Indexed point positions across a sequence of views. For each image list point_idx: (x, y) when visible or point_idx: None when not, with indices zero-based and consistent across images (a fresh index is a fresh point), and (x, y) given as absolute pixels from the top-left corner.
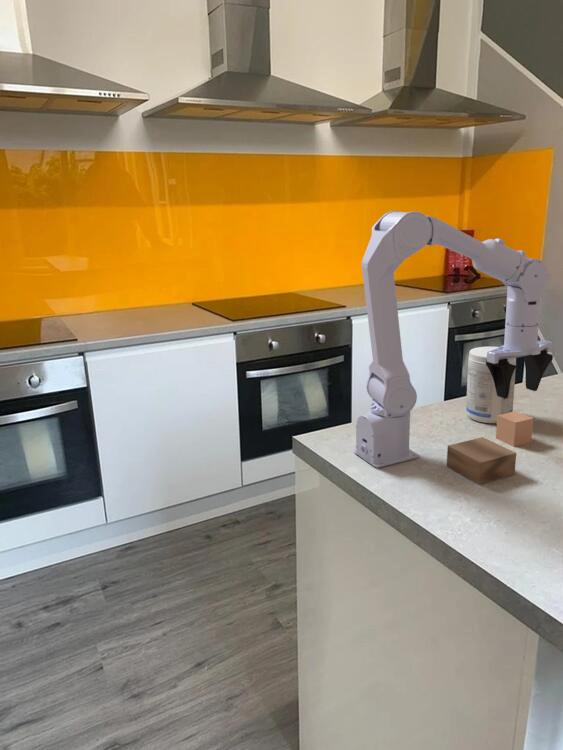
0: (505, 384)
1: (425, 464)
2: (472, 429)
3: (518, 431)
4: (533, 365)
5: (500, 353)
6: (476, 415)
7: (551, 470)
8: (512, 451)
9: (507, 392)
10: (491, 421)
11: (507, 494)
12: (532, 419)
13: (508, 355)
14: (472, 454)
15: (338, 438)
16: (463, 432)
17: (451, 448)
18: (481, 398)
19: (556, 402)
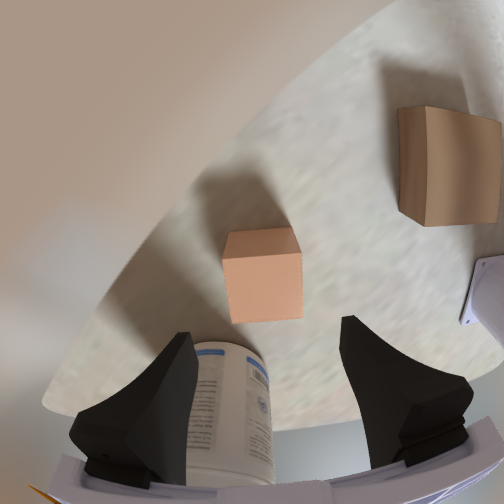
0: (391, 347)
1: (483, 233)
2: (302, 337)
3: (282, 241)
4: (170, 430)
5: (485, 466)
6: (266, 373)
7: (308, 81)
8: (427, 117)
9: (359, 326)
10: (244, 348)
11: (451, 66)
12: (227, 257)
13: (449, 467)
14: (493, 160)
15: (483, 355)
16: (331, 331)
17: (497, 210)
18: (264, 401)
19: (64, 358)
